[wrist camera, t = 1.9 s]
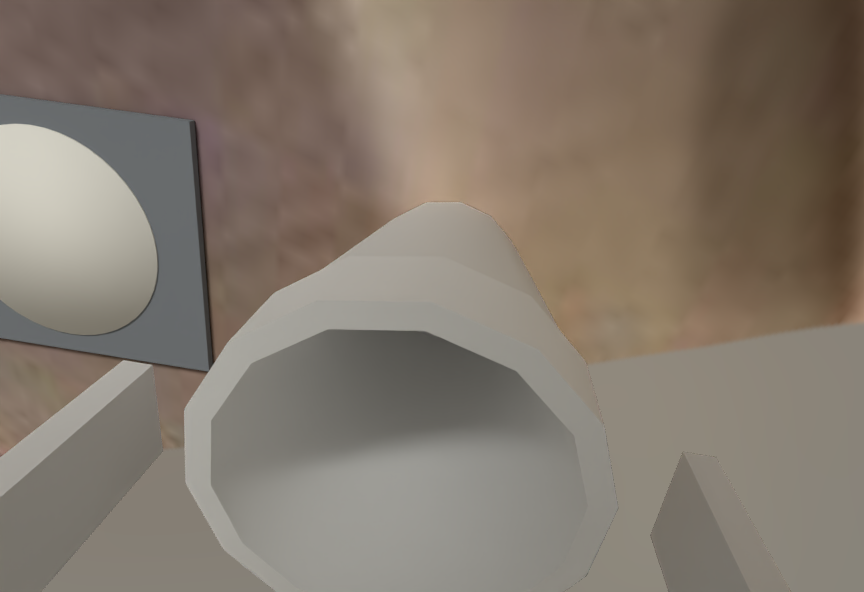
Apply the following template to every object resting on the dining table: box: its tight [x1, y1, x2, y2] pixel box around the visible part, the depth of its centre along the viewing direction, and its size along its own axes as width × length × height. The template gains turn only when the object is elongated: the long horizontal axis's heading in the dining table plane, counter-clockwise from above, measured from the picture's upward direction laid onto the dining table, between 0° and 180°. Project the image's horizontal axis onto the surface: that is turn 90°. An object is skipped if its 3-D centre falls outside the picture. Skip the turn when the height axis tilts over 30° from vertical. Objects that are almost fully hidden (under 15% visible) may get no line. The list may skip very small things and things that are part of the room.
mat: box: [0, 94, 213, 372], centre depth 24 cm, size 12×14×1 cm
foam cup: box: [184, 202, 618, 592], centre depth 17 cm, size 10×9×13 cm
